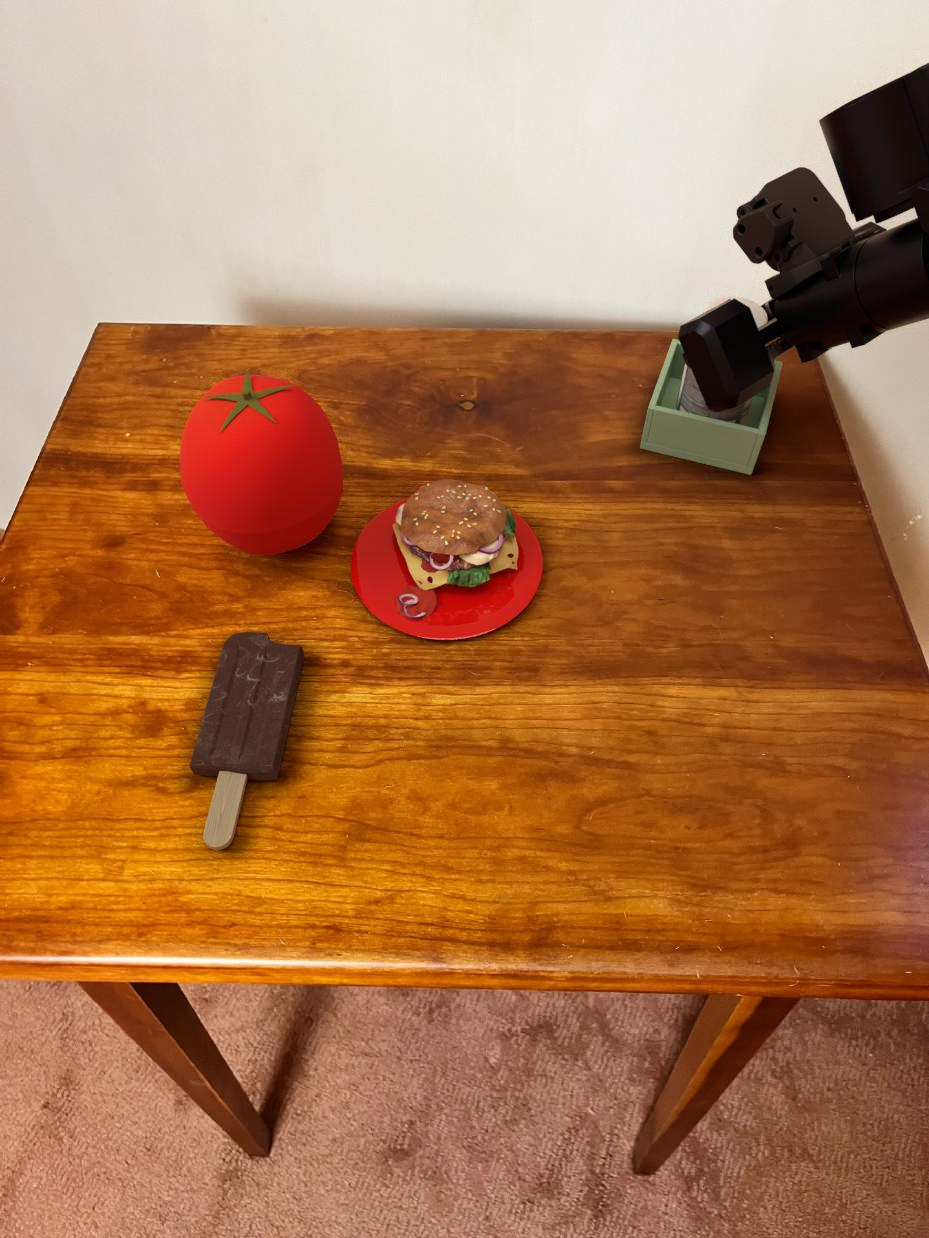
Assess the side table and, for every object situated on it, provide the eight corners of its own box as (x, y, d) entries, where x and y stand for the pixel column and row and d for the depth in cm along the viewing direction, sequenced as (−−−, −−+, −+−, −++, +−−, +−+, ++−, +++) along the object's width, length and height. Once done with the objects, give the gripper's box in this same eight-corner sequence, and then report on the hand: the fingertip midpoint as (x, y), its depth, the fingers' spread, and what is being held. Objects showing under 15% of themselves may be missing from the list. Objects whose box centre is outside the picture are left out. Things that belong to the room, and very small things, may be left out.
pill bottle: (753, 439, 73) (787, 335, 65) (683, 446, 73) (709, 342, 65) (731, 393, 76) (761, 288, 68) (665, 399, 76) (687, 295, 68)
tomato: (343, 590, 65) (319, 460, 55) (193, 585, 66) (141, 456, 55) (360, 477, 72) (341, 342, 62) (224, 473, 72) (183, 338, 62)
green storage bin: (768, 403, 77) (783, 361, 73) (751, 475, 72) (765, 434, 68) (663, 379, 79) (672, 338, 75) (639, 448, 74) (648, 407, 70)
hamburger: (332, 518, 69) (321, 461, 65) (505, 477, 72) (508, 419, 67) (378, 665, 62) (370, 612, 57) (571, 613, 64) (579, 559, 59)
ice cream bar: (262, 857, 54) (307, 647, 63) (256, 846, 52) (303, 633, 61) (174, 850, 54) (231, 642, 63) (166, 839, 53) (226, 628, 61)
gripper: (935, 104, 57) (755, 200, 71) (735, 206, 50) (580, 290, 65) (989, 273, 60) (806, 333, 74) (806, 391, 53) (643, 433, 67)
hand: (713, 344), depth 70 cm, fingers closed on pill bottle, 6 cm apart
